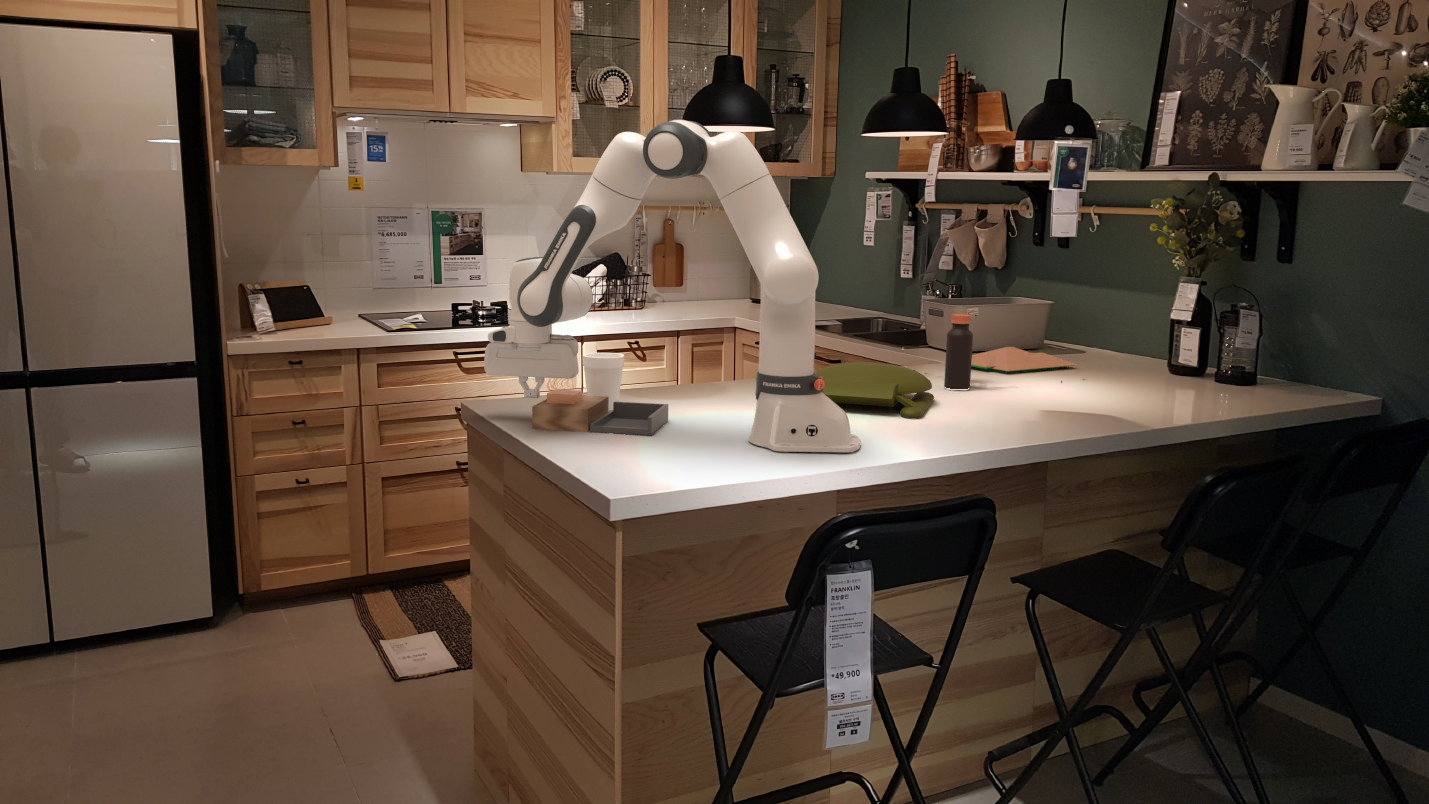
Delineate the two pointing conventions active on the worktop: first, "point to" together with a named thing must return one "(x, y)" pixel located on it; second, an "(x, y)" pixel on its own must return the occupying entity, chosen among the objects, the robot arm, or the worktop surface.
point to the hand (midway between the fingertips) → (531, 397)
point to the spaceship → (877, 386)
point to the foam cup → (603, 375)
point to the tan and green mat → (1016, 360)
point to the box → (632, 419)
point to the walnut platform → (569, 414)
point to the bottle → (959, 353)
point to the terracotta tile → (564, 396)
